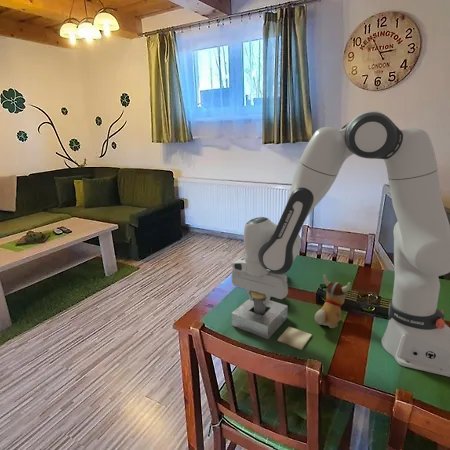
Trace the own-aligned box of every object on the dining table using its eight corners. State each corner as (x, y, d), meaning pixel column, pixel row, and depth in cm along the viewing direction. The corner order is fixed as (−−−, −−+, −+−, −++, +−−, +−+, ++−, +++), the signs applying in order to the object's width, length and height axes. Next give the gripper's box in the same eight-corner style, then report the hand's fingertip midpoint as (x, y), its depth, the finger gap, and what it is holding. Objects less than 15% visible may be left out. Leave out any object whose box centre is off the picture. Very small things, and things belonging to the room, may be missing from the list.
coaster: (311, 335, 106) (311, 334, 105) (301, 349, 100) (301, 348, 99) (288, 328, 110) (288, 326, 110) (277, 340, 104) (277, 339, 104)
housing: (287, 318, 116) (287, 305, 114) (267, 339, 105) (267, 326, 104) (253, 306, 124) (253, 295, 122) (232, 325, 113) (231, 313, 112)
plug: (270, 318, 115) (269, 290, 111) (262, 326, 111) (261, 297, 108) (257, 314, 118) (256, 286, 114) (249, 321, 114) (248, 293, 111)
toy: (352, 317, 114) (355, 278, 109) (330, 339, 104) (333, 297, 99) (326, 308, 120) (328, 270, 116) (304, 327, 110) (305, 287, 106)
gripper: (291, 268, 104) (291, 306, 109) (238, 256, 116) (240, 291, 120) (282, 276, 100) (282, 315, 104) (228, 262, 112) (230, 298, 116)
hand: (259, 302), depth 112 cm, fingers closed on plug, 4 cm apart
